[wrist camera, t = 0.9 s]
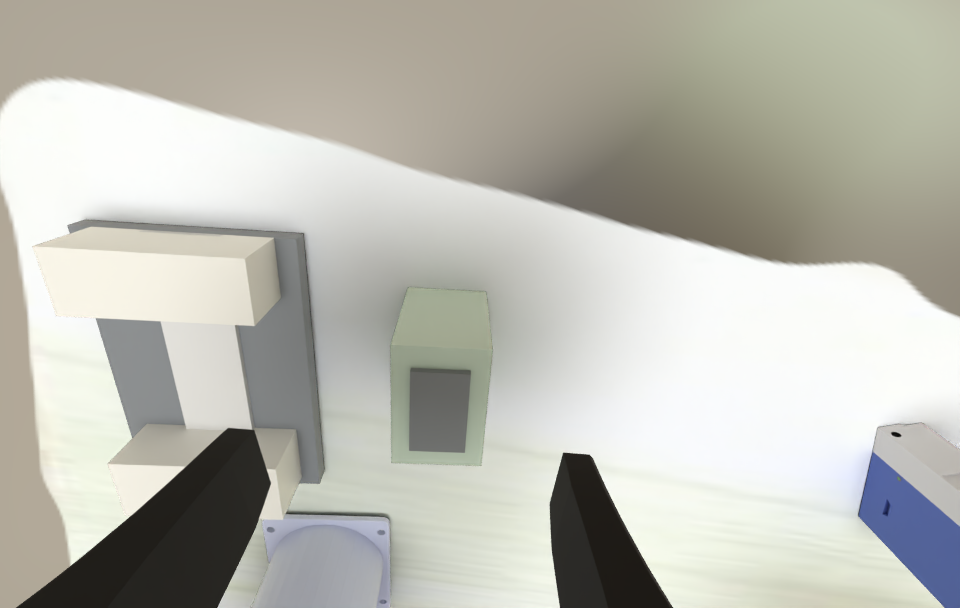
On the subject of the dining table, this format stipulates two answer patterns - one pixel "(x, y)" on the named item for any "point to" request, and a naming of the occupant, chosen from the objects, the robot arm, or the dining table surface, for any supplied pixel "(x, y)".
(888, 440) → the walkman
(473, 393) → the module block
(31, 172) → the dining table surface
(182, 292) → the mounted modules
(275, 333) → the mounting board
